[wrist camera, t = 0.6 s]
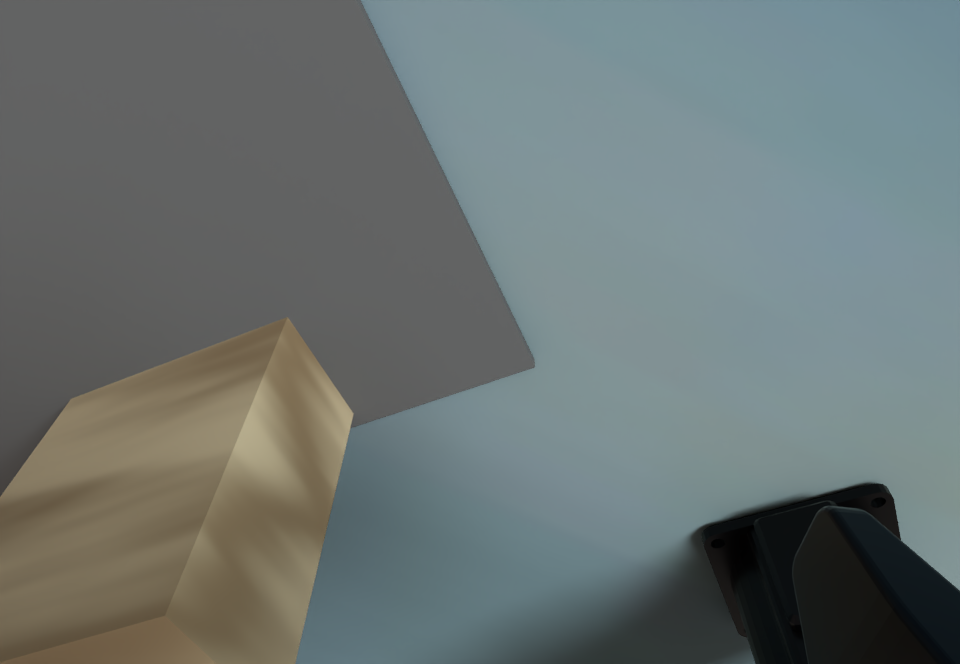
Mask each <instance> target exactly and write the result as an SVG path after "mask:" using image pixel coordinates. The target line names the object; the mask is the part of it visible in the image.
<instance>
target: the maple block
mask: <svg viewBox="0 0 960 664" xmlns="http://www.w3.org/2000/svg"><path fill="white" fill-rule="evenodd" d="M353 414H354V413H353V412H352V411H351V409H350V408H349V406H348V405H347V403H346V402H345V400H344V399H343V397H342V396H341V394H340V393H339V391H338V390H337V389H336V387H335V386H334V384H333V383H332V381H331V380H330V378H329V377H328V375H327V374H326V372H325V371H324V369H323V368H322V367H321V365H320V364H319V362H318V361H317V359H316V358H315V356H314V355H313V353H312V352H311V350H310V349H309V348H308V346H307V345H306V343H305V342H304V340H303V339H302V337H301V336H300V334H299V333H298V331H297V330H296V328H295V327H294V326H293V324H292V323H291V321H290V320H289V318H288V317H286V318H284V319H281V320H278V321H276V322H273V323H270V324H268V325H265V326H262V327H260V328H257V329H255V330H252V331H249V332H247V333H244V334H241V335H239V336H236V337H233V338H231V339H228V340H225V341H223V342H220V343H217V344H215V345H212V346H210V347H207V348H204V349H202V350H199V351H196V352H194V353H191V354H188V355H186V356H183V357H180V358H178V359H175V360H172V361H170V362H167V363H165V364H162V365H159V366H157V367H154V368H151V369H149V370H146V371H143V372H141V373H138V374H135V375H133V376H130V377H127V378H125V379H122V380H119V381H117V382H114V383H112V384H109V385H106V386H104V387H101V388H98V389H96V390H93V391H90V392H88V393H85V394H82V395H80V396H77V397H74V398H72V399H71V400H70V401H69V402H68V404H67V405H66V407H65V408H64V409H63V411H62V412H61V414H60V415H59V416H58V418H57V419H56V420H55V422H54V423H53V425H52V426H51V427H50V429H49V430H48V432H47V433H46V434H45V436H44V437H43V438H42V440H41V441H40V443H39V444H38V445H37V447H36V448H35V449H34V451H33V452H32V454H31V455H30V456H29V458H28V459H27V461H26V462H25V463H24V465H23V466H22V467H21V469H20V470H19V472H18V473H17V474H16V476H15V477H14V479H13V480H12V481H11V483H10V484H9V485H8V487H7V488H6V490H5V491H4V492H3V494H2V495H1V497H0V664H295V662H296V657H297V653H298V649H299V645H300V640H301V636H302V632H303V628H304V623H305V619H306V615H307V611H308V606H309V602H310V598H311V593H312V589H313V585H314V581H315V576H316V572H317V568H318V564H319V559H320V555H321V551H322V546H323V542H324V538H325V534H326V529H327V525H328V521H329V517H330V512H331V508H332V504H333V500H334V495H335V491H336V487H337V482H338V478H339V474H340V470H341V465H342V461H343V457H344V453H345V448H346V444H347V440H348V436H349V431H350V427H351V423H352V418H353Z"/></svg>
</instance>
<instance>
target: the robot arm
mask: <svg viewBox="0 0 960 664" xmlns="http://www.w3.org/2000/svg"><path fill="white" fill-rule="evenodd" d="M702 541H703V545H704V548H705V550H706V553H707V555H708V558H709V560H710V563H711V565H712V568H713V570H714V573H715V575H716V578H717V580H718V583H719V585H720V588H721V591H722V593H723V596H724V598H725V601H726V603H727V606H728V608H729V611H730V613H731V616H732V618H733V621H734V623H735V626H736V628H737V631H738V633H739V634H740V635H741V636H744V637H747V638H748V641H749V644H750V648H751V651H752V654H753V657H754V661H755V664H960V591H959V590H958V589H957V588H956V587H955V586H954V585H952V584H951V583H950V582H949V581H948V580H947V579H945V578H944V577H943V576H942V575H941V574H940V573H938V572H937V571H936V570H935V569H934V568H933V567H931V566H930V565H929V564H928V563H927V562H926V561H924V560H923V559H922V558H921V557H920V556H918V555H917V554H916V553H915V552H914V551H913V550H911V549H910V548H909V547H908V546H907V545H906V544H904V543H903V542H902V541H901V538H900V532H899V526H898V521H897V515H896V510H895V504H894V499H893V497H892V495H891V493H890V492H889V490H888V488H887V487H886V486H885V485H883V484H871V485H867V486H863V487H859V488H856V489H852V490H848V491H844V492H840V493H836V494H833V495H829V496H825V497H821V498H817V499H814V500H810V501H806V502H802V503H798V504H794V505H791V506H787V507H783V508H779V509H775V510H771V511H768V512H764V513H760V514H756V515H752V516H749V517H745V518H741V519H737V520H733V521H729V522H726V523H722V524H718V525H714V526H711V527H709V528H707V529H705V530H704V531H703V533H702Z"/></svg>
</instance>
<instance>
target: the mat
mask: <svg viewBox="0 0 960 664" xmlns="http://www.w3.org/2000/svg"><path fill="white" fill-rule="evenodd" d="M286 317H288V318H289V320H290V321H291V323H292V324H293V326H294V327H295V328H296V330H297V331H298V333H299V334H300V336H301V337H302V339H303V340H304V342H305V343H306V345H307V346H308V348H309V349H310V350H311V352H312V353H313V355H314V356H315V358H316V359H317V361H318V362H319V364H320V365H321V367H322V368H323V369H324V371H325V372H326V374H327V375H328V377H329V378H330V380H331V381H332V383H333V384H334V386H335V387H336V389H337V390H338V391H339V393H340V394H341V396H342V397H343V399H344V400H345V402H346V403H347V405H348V406H349V408H350V409H351V411H352V412H353V413H354V414H353V418H352V423H351V427H350V428H352V427H355V426H358V425H361V424H364V423H367V422H370V421H373V420H376V419H379V418H383V417H386V416H389V415H392V414H395V413H398V412H401V411H404V410H407V409H410V408H413V407H416V406H419V405H422V404H425V403H428V402H431V401H434V400H437V399H440V398H443V397H446V396H449V395H452V394H455V393H458V392H461V391H464V390H467V389H470V388H473V387H476V386H480V385H483V384H486V383H489V382H492V381H495V380H498V379H501V378H504V377H507V376H510V375H513V374H516V373H519V372H522V371H525V370H528V369H531V368H534V367H535V362H534V358H533V356H532V354H531V351H530V349H529V347H528V345H527V343H526V341H525V339H524V337H523V335H522V333H521V331H520V329H519V327H518V325H517V323H516V321H515V318H514V316H513V314H512V312H511V310H510V308H509V306H508V304H507V302H506V300H505V298H504V296H503V294H502V292H501V290H500V287H499V285H498V283H497V281H496V279H495V277H494V275H493V273H492V271H491V269H490V267H489V265H488V263H487V261H486V259H485V257H484V254H483V252H482V250H481V248H480V246H479V244H478V242H477V240H476V238H475V236H474V234H473V232H472V230H471V228H470V226H469V223H468V221H467V219H466V217H465V215H464V213H463V211H462V209H461V207H460V205H459V203H458V201H457V199H456V197H455V195H454V193H453V190H452V188H451V186H450V184H449V182H448V180H447V178H446V176H445V174H444V172H443V170H442V168H441V166H440V164H439V162H438V159H437V157H436V155H435V153H434V151H433V149H432V147H431V145H430V143H429V141H428V139H427V137H426V135H425V133H424V131H423V129H422V126H421V124H420V122H419V120H418V118H417V116H416V114H415V112H414V110H413V108H412V106H411V104H410V102H409V100H408V98H407V95H406V93H405V91H404V89H403V87H402V85H401V83H400V81H399V79H398V77H397V75H396V73H395V71H394V69H393V67H392V65H391V62H390V60H389V58H388V56H387V54H386V52H385V50H384V48H383V46H382V44H381V42H380V40H379V38H378V36H377V34H376V31H375V29H374V27H373V25H372V23H371V21H370V19H369V17H368V15H367V13H366V11H365V9H364V7H363V5H362V3H361V0H0V497H1V495H2V494H3V492H4V491H5V490H6V488H7V487H8V485H9V484H10V483H11V481H12V480H13V479H14V477H15V476H16V474H17V473H18V472H19V470H20V469H21V467H22V466H23V465H24V463H25V462H26V461H27V459H28V458H29V456H30V455H31V454H32V452H33V451H34V449H35V448H36V447H37V445H38V444H39V443H40V441H41V440H42V438H43V437H44V436H45V434H46V433H47V432H48V430H49V429H50V427H51V426H52V425H53V423H54V422H55V420H56V419H57V418H58V416H59V415H60V414H61V412H62V411H63V409H64V408H65V407H66V405H67V404H68V402H69V401H70V400H71V399H72V398H74V397H77V396H80V395H82V394H85V393H88V392H90V391H93V390H96V389H98V388H101V387H104V386H106V385H109V384H112V383H114V382H117V381H119V380H122V379H125V378H127V377H130V376H133V375H135V374H138V373H141V372H143V371H146V370H149V369H151V368H154V367H157V366H159V365H162V364H165V363H167V362H170V361H172V360H175V359H178V358H180V357H183V356H186V355H188V354H191V353H194V352H196V351H199V350H202V349H204V348H207V347H210V346H212V345H215V344H217V343H220V342H223V341H225V340H228V339H231V338H233V337H236V336H239V335H241V334H244V333H247V332H249V331H252V330H255V329H257V328H260V327H262V326H265V325H268V324H270V323H273V322H276V321H278V320H281V319H284V318H286Z"/></svg>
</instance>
